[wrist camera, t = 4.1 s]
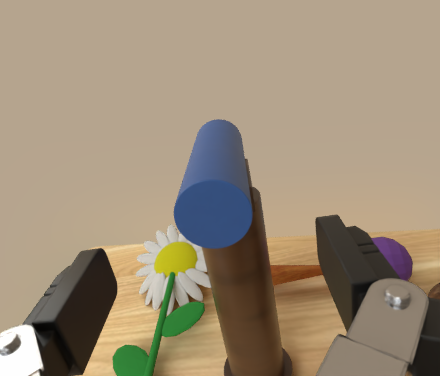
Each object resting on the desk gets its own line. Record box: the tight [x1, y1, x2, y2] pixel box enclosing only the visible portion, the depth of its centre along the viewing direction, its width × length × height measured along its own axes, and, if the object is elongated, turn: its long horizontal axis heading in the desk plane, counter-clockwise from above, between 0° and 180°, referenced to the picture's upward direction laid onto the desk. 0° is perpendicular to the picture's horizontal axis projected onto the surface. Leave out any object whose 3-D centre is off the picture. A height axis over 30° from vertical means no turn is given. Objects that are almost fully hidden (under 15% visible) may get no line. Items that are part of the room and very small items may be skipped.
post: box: [202, 159, 293, 376], centre depth 27 cm, size 6×6×21 cm
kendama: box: [270, 237, 413, 285], centre depth 40 cm, size 6×6×20 cm
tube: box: [174, 120, 253, 249], centre depth 20 cm, size 12×4×4 cm, turn 179°
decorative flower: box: [113, 225, 211, 376], centre depth 37 cm, size 13×5×30 cm
